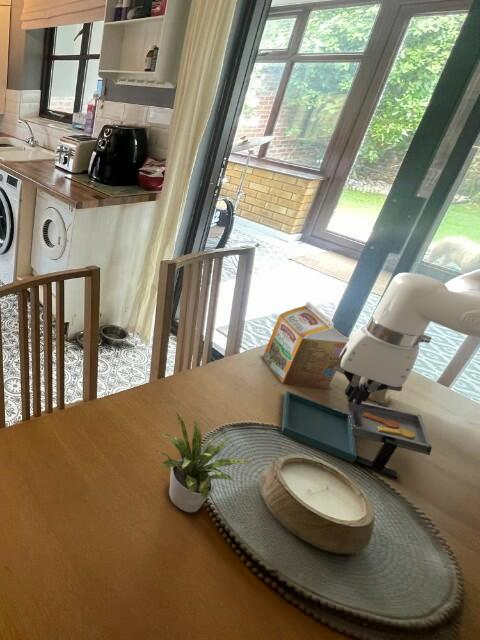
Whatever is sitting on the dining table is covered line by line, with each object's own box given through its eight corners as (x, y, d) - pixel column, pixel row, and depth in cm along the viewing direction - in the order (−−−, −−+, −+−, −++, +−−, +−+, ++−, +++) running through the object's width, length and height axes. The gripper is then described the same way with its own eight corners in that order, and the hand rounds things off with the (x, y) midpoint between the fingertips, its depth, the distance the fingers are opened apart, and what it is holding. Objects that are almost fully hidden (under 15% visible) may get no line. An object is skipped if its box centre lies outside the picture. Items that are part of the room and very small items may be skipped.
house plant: (121, 473, 81) (137, 412, 74) (175, 452, 86) (194, 393, 79) (178, 544, 69) (203, 479, 62) (237, 516, 74) (266, 453, 67)
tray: (348, 420, 95) (351, 414, 94) (353, 462, 84) (357, 456, 83) (284, 396, 101) (286, 390, 100) (281, 433, 91) (284, 427, 90)
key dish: (419, 422, 85) (421, 415, 85) (429, 455, 78) (432, 447, 77) (347, 406, 92) (349, 398, 91) (351, 434, 85) (353, 426, 84)
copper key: (400, 424, 85) (400, 422, 85) (397, 429, 84) (398, 428, 83) (364, 412, 89) (365, 410, 89) (362, 417, 88) (362, 415, 88)
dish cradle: (386, 434, 91) (401, 409, 88) (396, 480, 81) (414, 453, 78) (350, 421, 94) (364, 396, 91) (356, 463, 84) (372, 437, 81)
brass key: (412, 431, 83) (412, 430, 83) (417, 439, 81) (417, 437, 81) (376, 425, 85) (376, 424, 85) (380, 432, 83) (380, 431, 83)
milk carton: (327, 388, 104) (358, 325, 96) (282, 383, 106) (309, 321, 98) (303, 361, 114) (330, 302, 106) (262, 357, 115) (285, 299, 107)
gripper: (441, 337, 81) (396, 406, 89) (343, 310, 90) (310, 375, 97) (450, 356, 76) (402, 427, 84) (345, 326, 84) (310, 393, 92)
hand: (353, 399), depth 91 cm, fingers closed
